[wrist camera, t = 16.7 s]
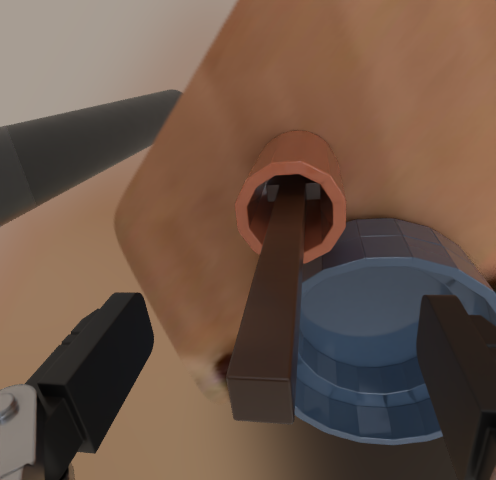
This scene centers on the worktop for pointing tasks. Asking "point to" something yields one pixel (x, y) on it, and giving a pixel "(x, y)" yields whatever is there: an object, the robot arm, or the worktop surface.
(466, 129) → the worktop surface
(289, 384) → the stirring stick
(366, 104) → the worktop surface
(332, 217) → the utensil holder
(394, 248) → the bowl
